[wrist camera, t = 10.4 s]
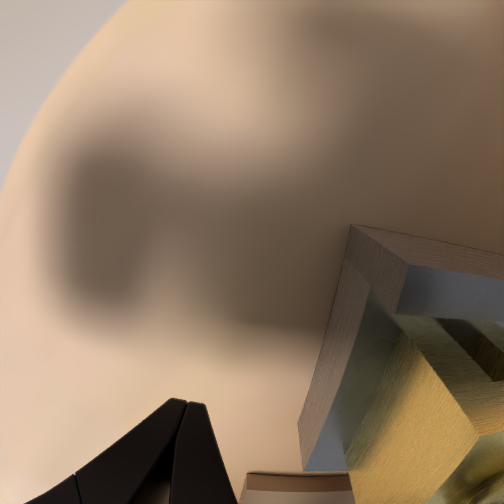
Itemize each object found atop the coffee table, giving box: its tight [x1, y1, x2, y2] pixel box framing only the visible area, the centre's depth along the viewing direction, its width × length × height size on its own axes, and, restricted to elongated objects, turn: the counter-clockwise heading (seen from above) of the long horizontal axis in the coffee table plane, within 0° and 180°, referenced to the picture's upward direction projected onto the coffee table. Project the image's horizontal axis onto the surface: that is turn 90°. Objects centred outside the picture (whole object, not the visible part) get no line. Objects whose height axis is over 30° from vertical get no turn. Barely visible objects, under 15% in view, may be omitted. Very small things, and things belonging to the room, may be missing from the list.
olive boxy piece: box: [344, 328, 504, 504], centre depth 5 cm, size 4×5×5 cm
